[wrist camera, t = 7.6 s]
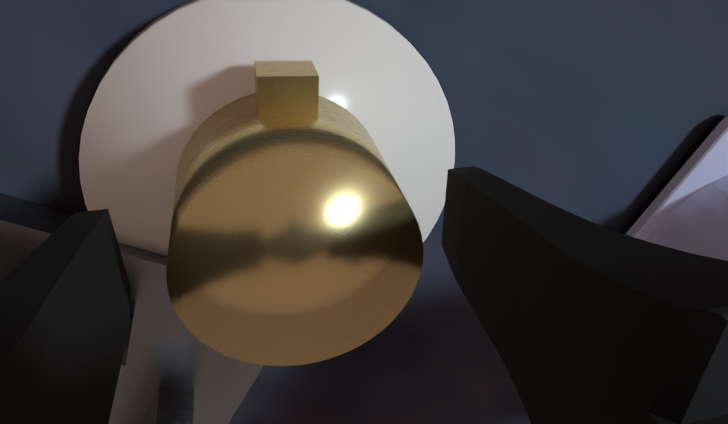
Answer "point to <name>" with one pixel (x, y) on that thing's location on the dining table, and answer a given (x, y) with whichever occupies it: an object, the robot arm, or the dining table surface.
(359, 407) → the dining table surface
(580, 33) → the dining table surface
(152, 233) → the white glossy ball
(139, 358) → the post base
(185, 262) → the cap
